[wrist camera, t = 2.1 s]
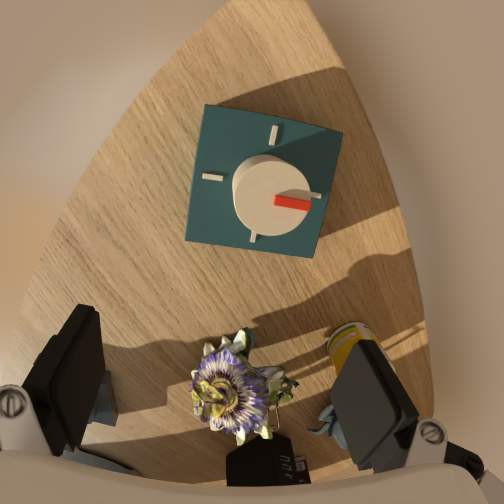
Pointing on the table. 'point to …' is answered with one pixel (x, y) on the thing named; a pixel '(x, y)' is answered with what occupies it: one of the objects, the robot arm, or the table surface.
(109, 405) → the housing
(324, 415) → the figurine
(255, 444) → the electronic device
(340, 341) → the supplement bottle
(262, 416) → the passion flower
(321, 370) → the table surface
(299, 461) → the supplement box
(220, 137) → the dial panel
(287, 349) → the table surface
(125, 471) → the planter
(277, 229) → the program dial
